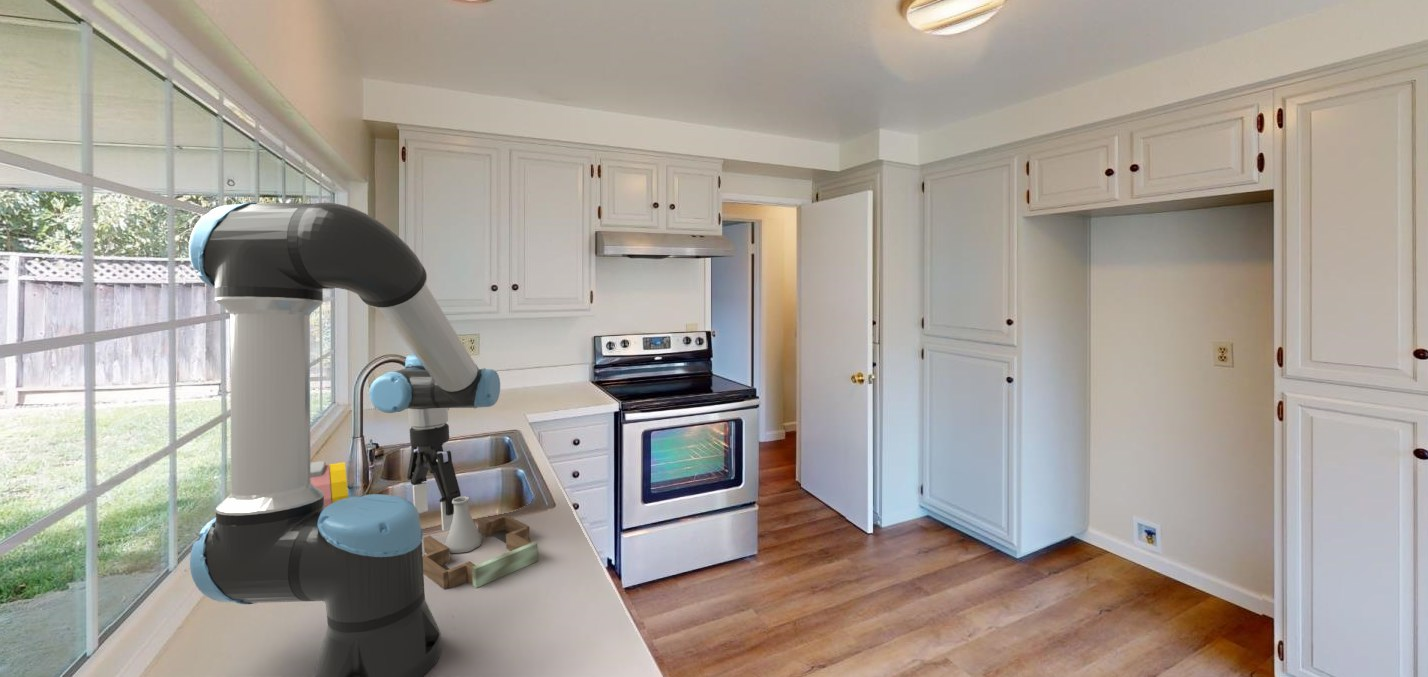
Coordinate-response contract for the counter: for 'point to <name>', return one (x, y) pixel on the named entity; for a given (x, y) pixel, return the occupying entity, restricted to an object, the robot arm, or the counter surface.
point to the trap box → (487, 571)
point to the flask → (462, 528)
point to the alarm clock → (330, 480)
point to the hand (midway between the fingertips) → (434, 520)
